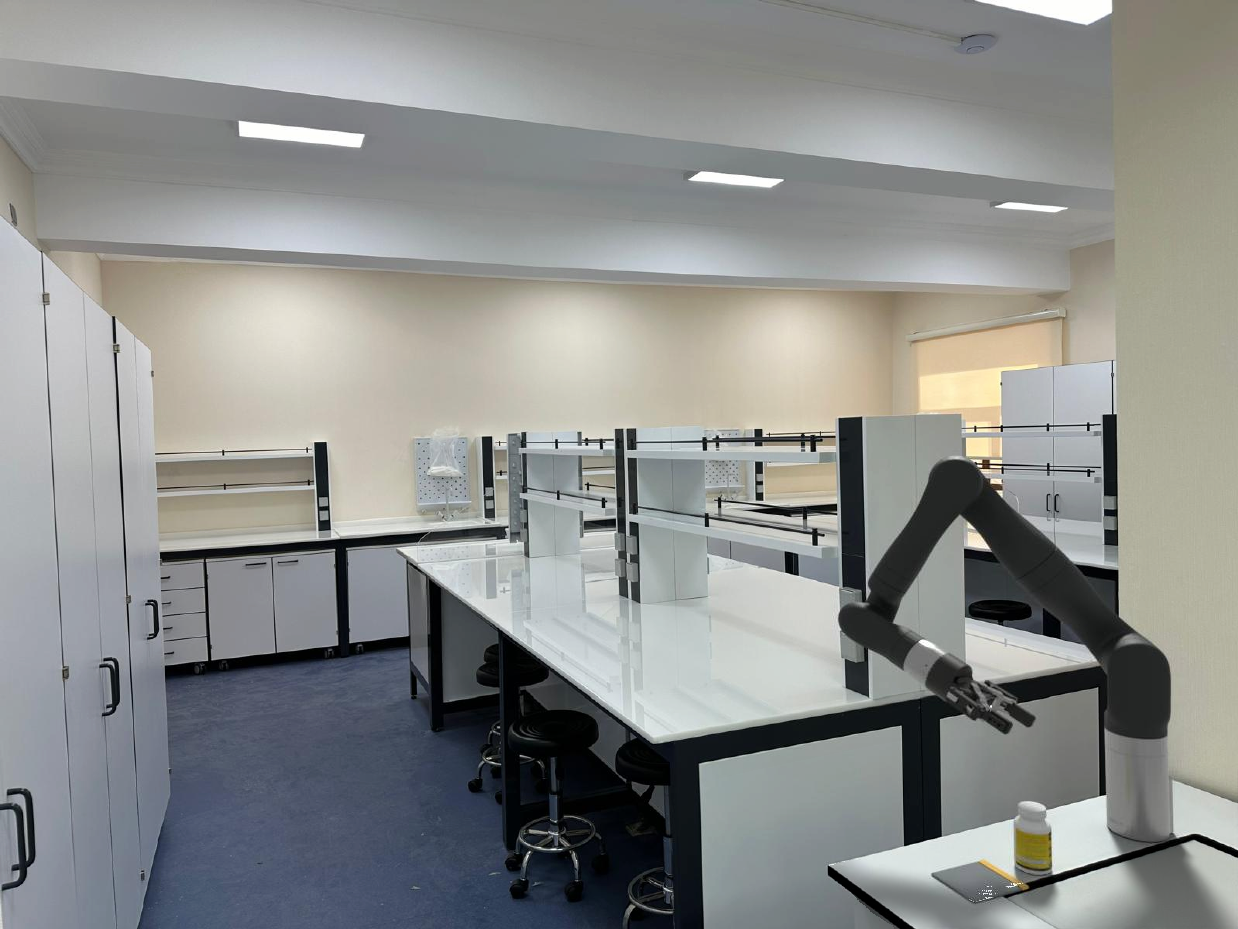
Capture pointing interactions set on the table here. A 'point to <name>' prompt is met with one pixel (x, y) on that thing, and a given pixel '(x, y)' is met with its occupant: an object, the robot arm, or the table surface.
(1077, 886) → the table surface
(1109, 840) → the table surface
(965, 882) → the mat
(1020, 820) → the supplement bottle
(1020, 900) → the table surface
